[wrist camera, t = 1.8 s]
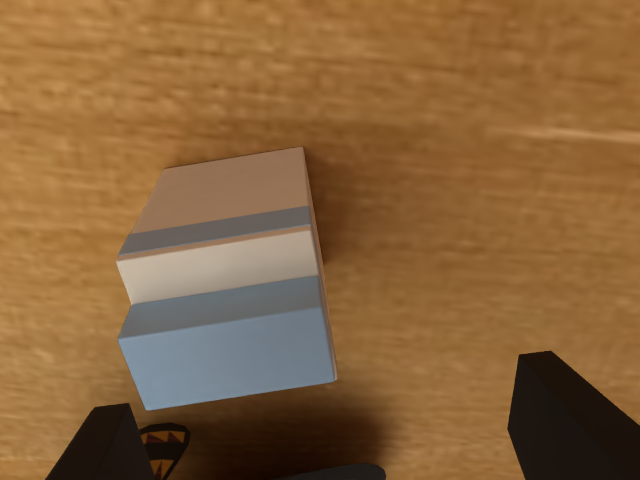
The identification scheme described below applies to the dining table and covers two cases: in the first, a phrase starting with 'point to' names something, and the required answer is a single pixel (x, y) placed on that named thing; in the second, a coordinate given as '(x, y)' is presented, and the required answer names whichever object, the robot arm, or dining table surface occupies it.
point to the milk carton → (226, 283)
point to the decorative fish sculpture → (173, 439)
